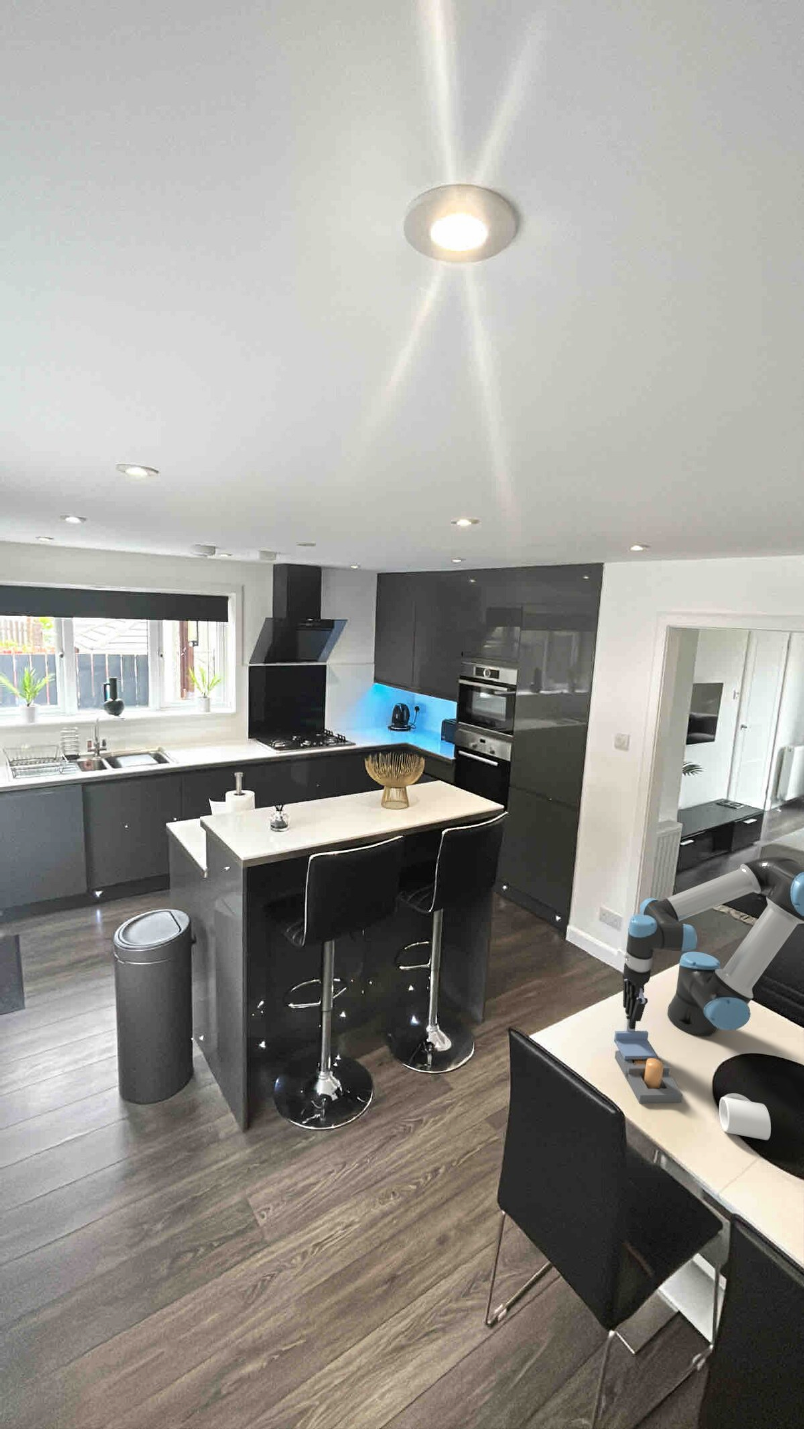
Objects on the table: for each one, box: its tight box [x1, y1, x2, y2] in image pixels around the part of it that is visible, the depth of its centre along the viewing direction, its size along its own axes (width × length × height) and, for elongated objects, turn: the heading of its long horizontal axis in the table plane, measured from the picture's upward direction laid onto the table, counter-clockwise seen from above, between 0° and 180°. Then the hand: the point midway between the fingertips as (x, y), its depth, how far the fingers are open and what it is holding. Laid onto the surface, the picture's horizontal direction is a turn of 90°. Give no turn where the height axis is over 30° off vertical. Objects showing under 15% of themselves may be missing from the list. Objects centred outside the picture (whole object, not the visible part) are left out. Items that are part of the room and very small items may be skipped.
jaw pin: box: [644, 1058, 664, 1089], centre depth 175 cm, size 4×4×8 cm
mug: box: [718, 1092, 772, 1141], centre depth 164 cm, size 12×10×8 cm
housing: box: [614, 1050, 684, 1104], centre depth 179 cm, size 12×17×4 cm
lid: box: [613, 1030, 659, 1060], centre depth 186 cm, size 10×8×4 cm
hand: (628, 1035), depth 191 cm, fingers closed
